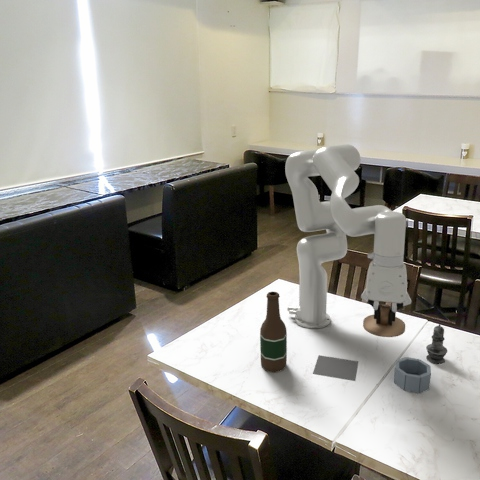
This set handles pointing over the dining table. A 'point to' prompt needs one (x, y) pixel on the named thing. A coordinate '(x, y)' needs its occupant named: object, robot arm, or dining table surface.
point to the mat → (336, 367)
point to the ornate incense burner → (437, 347)
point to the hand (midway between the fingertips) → (384, 321)
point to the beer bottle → (273, 337)
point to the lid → (384, 324)
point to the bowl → (412, 375)
